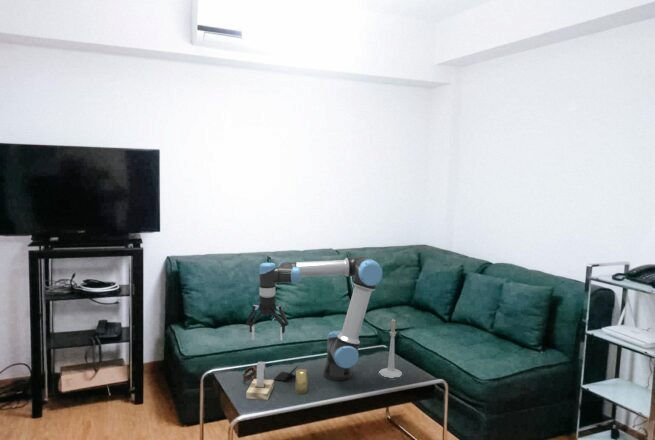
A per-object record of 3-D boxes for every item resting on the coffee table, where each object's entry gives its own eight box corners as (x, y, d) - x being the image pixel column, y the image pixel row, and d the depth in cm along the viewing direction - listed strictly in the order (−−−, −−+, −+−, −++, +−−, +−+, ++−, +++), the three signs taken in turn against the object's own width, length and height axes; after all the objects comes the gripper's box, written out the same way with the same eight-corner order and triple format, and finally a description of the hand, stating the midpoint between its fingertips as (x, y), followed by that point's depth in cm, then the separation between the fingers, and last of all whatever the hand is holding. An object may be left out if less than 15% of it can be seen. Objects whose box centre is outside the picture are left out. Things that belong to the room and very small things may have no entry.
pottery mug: (263, 386, 246) (255, 373, 244) (246, 392, 248) (238, 379, 246) (267, 371, 258) (260, 358, 255) (251, 377, 259) (244, 365, 257)
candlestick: (373, 373, 267) (376, 318, 265) (389, 368, 275) (392, 314, 273) (392, 381, 257) (394, 323, 255) (408, 375, 266) (410, 319, 263)
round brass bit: (307, 389, 243) (308, 369, 243) (306, 394, 238) (306, 373, 237) (296, 388, 244) (297, 368, 243) (294, 393, 238) (295, 372, 238)
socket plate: (273, 386, 246) (274, 380, 246) (267, 400, 230) (267, 393, 230) (253, 384, 247) (254, 378, 247) (246, 398, 231) (246, 392, 231)
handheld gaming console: (277, 369, 263) (288, 357, 261) (288, 378, 263) (299, 365, 261) (271, 381, 252) (283, 368, 249) (283, 390, 252) (295, 377, 250)
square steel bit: (264, 390, 240) (265, 361, 239) (263, 393, 237) (264, 364, 235) (257, 390, 240) (258, 361, 239) (256, 392, 237) (256, 364, 236)
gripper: (294, 294, 242) (294, 337, 244) (243, 293, 243) (243, 336, 245) (292, 298, 234) (292, 342, 236) (239, 296, 236) (239, 340, 237)
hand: (267, 339), depth 240 cm, fingers open, 13 cm apart
